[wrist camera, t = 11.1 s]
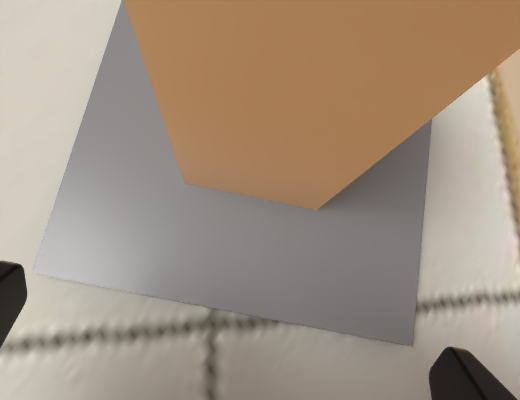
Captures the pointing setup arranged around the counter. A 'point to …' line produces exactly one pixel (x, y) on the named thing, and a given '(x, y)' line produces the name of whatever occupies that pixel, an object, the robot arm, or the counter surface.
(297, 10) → the tall tan pillar
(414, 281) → the base plate
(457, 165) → the counter surface
